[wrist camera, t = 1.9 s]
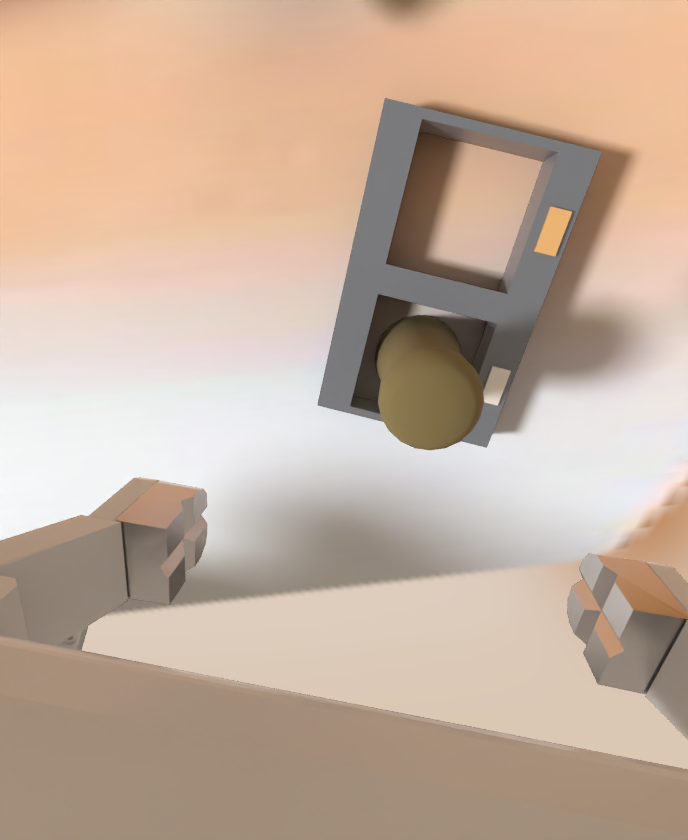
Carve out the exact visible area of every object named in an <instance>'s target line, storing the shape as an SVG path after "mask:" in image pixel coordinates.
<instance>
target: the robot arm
mask: <svg viewBox="0 0 688 840" xmlns="http://www.w3.org/2000/svg"><path fill="white" fill-rule="evenodd" d="M206 507H207V493H206V492H205V490H204V489H202V488H196V487H191V486H186V485H180V484H175V483H170V482H164V481H159V480H154V479H147V478H141V477H139V478H133V479H132V480H131V481H130V482H129V483H127V484H126V485H125V486H124V487H123V488H121V489H120V490H119V491H118V492H117V493H115V494H114V495H113V496H112V497H111V498H109V499H108V500H107V501H106V502H105V503H103V504H102V505H101V506H100V507H99V508H98V509H96V510H95V511H94V512H93V513H92V514H90V515H89V516H83V515H80V516H77V517H73V518H70V519H67V520H64V521H61V522H58V523H55V524H51V525H48V526H45V527H42V528H39V529H36V530H33V531H29V532H26V533H23V534H20V535H17V536H14V537H11V538H7V539H4V540H1V541H0V840H688V769H682V768H678V767H672V766H667V765H662V764H657V763H652V762H647V761H642V760H637V759H631V758H626V757H621V756H616V755H611V754H606V753H601V752H596V751H591V750H586V749H581V748H576V747H571V746H566V745H561V744H556V743H551V742H546V741H540V740H535V739H530V738H525V737H520V736H515V735H510V734H504V733H500V732H495V731H490V730H485V729H480V728H475V727H470V726H465V725H459V724H454V723H449V722H444V721H439V720H433V719H429V718H423V717H418V716H413V715H408V714H403V713H398V712H393V711H388V710H382V709H377V708H372V707H367V706H362V705H357V704H351V703H346V702H341V701H336V700H331V699H326V698H321V697H315V696H310V695H305V694H300V693H295V692H290V691H284V690H279V689H275V688H269V687H264V686H259V685H254V684H249V683H243V682H238V681H234V680H228V679H223V678H218V677H213V676H208V675H203V674H198V673H193V672H187V671H182V670H177V669H172V668H167V667H162V666H157V665H151V664H147V663H141V662H136V661H131V660H126V659H121V658H116V657H111V656H105V655H100V654H95V653H90V652H85V651H81V649H82V645H83V642H84V639H85V635H86V632H87V628H88V625H90V624H91V623H93V622H95V621H96V620H98V619H99V618H101V617H103V616H104V615H106V614H107V613H109V612H111V611H112V610H114V609H115V608H117V607H119V606H120V605H122V604H123V603H125V602H127V601H128V598H130V599H136V600H143V601H149V602H155V603H162V604H168V605H170V603H171V602H172V600H173V599H174V597H175V596H176V594H177V593H178V591H179V590H180V588H181V587H182V585H183V584H184V582H185V571H186V570H188V569H190V568H192V567H194V566H195V565H196V564H197V562H198V560H199V559H200V557H201V555H202V552H203V549H204V547H205V544H206V538H207V522H206V521H205V520H204V518H203V517H202V515H201V514H202V513H203V511H204V510H205V509H206ZM579 570H580V572H581V575H582V577H583V579H582V580H581V581H579V582H577V583H576V584H574V585H573V586H572V588H571V591H570V594H569V597H568V608H567V613H568V618H569V623H570V625H571V627H572V630H573V632H574V634H575V635H576V636H577V637H579V638H580V639H581V640H582V641H583V642H584V643H585V644H586V648H585V650H584V652H583V653H584V656H585V658H586V660H587V662H588V664H589V666H590V668H591V671H592V673H593V675H594V677H595V679H596V681H597V683H598V684H600V685H605V686H609V687H614V688H618V689H624V690H628V691H633V692H637V693H642V694H646V696H645V697H646V698H647V699H648V700H649V701H650V702H651V703H652V704H653V705H654V706H655V707H656V708H657V709H658V710H659V711H660V712H661V713H662V714H663V715H664V716H665V717H666V718H667V719H668V720H669V721H670V722H671V723H672V724H673V725H674V726H675V727H676V728H677V729H678V730H679V731H680V732H681V733H682V734H683V736H684V737H685V738H687V740H688V583H687V582H686V581H685V580H684V579H683V577H682V576H681V575H680V574H679V573H678V572H677V571H676V570H675V569H674V568H673V567H671V566H669V565H667V564H663V563H654V562H646V561H637V560H630V559H624V558H617V557H610V556H603V555H596V554H590V553H588V554H587V556H586V557H585V558H584V559H583V561H582V563H581V565H580V568H579Z"/></svg>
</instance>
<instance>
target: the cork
mask: <svg viewBox="0 0 688 840" xmlns="http://www.w3.org/2000/svg"><path fill="white" fill-rule="evenodd" d="M375 365H376V371H377V374H378V376H379V378H380V380H381V383H380V390H379V397H378V404H379V409H380V414H381V417H382V419H383V421H384V423H385V424H386V426H387V428H388V430H389V431H390V432H391V433H392V434H393V435H394V436H395V437H397V438H398V439H399V440H400V441H401V442H403V443H405V444H407V445H409V446H412V447H414V448H418V449H425V450H435V449H442V448H447V447H449V446H451V445H453V444H456V443H458V442H460V441H461V440H462V439H463V438H465V437H466V436H467V435H468V434H469V433H470V432H472V430H473V429H474V427H475V425H476V424H477V422H478V421H479V419H480V416H481V412H482V408H483V404H484V393H483V384H482V382H481V380H480V377H479V375H478V373H477V371H476V369H475V368H474V367H473V366H472V365H471V364H470V363H469V362H468V361H467V360H466V359H465V358H464V357H463V356H462V355H461V350H460V344H459V342H458V340H457V338H456V336H455V334H454V332H453V331H452V330H451V329H450V328H449V327H448V326H447V325H446V324H445V323H444V322H441V321H439V320H437V319H435V318H433V317H429V316H420V315H416V316H411V317H406V318H403V319H401V320H399V321H398V322H396V323H394V324H392V325H391V326H390V327H389V328H388V329H387V330H386V331H385V332H384V333H383V335H382V336H381V338H380V340H379V343H378V345H377V347H376V353H375Z"/></svg>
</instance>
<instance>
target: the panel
mask: <svg viewBox="0 0 688 840" xmlns="http://www.w3.org/2000/svg"><path fill="white" fill-rule="evenodd" d="M419 131H421V132H425V133H429V134H433V135H437V136H441V137H445V138H449V139H453V140H458V141H462V142H466V143H470V144H474V145H478V146H482V147H486V148H490V149H494V150H498V151H502V152H506V153H510V154H514V155H519V156H523V157H527V158H531V159H535V160H539V161H543V164H542V167H541V170H540V173H539V176H538V179H537V181H536V184H535V187H534V190H533V193H532V196H531V199H530V202H529V204H528V207H527V210H526V213H525V216H524V219H523V222H522V224H521V227H520V230H519V233H518V236H517V239H516V242H515V245H514V247H513V250H512V253H511V256H510V259H509V262H508V265H507V267H506V270H505V273H504V276H503V279H502V282H501V285H500V287H499V290H498V291H494V290H490V289H486V288H482V287H478V286H474V285H470V284H466V283H462V282H458V281H454V280H450V279H446V278H442V277H438V276H434V275H430V274H426V273H422V272H417V271H413V270H409V269H405V268H401V267H397V266H393V265H389V264H386V261H387V257H388V253H389V249H390V245H391V241H392V237H393V233H394V229H395V225H396V221H397V217H398V213H399V209H400V205H401V201H402V197H403V193H404V189H405V185H406V181H407V177H408V173H409V169H410V165H411V161H412V157H413V153H414V149H415V145H416V141H417V137H418V133H419ZM601 153H602V151H599V150H594V149H590V148H586V147H582V146H578V145H574V144H570V143H566V142H562V141H558V140H554V139H550V138H546V137H542V136H537V135H533V134H529V133H525V132H521V131H517V130H513V129H509V128H505V127H501V126H497V125H493V124H489V123H485V122H480V121H476V120H472V119H468V118H464V117H460V116H456V115H452V114H448V113H444V112H440V111H436V110H432V109H428V108H423V107H419V106H415V105H411V104H407V103H403V102H399V101H395V100H391V99H387V98H385V101H384V105H383V110H382V114H381V119H380V123H379V128H378V132H377V137H376V142H375V146H374V151H373V155H372V160H371V164H370V169H369V173H368V178H367V182H366V187H365V191H364V196H363V201H362V205H361V210H360V214H359V219H358V223H357V228H356V232H355V237H354V241H353V246H352V251H351V255H350V260H349V264H348V269H347V273H346V278H345V282H344V287H343V291H342V296H341V300H340V305H339V310H338V314H337V319H336V323H335V328H334V332H333V337H332V341H331V346H330V350H329V355H328V359H327V364H326V369H325V373H324V378H323V382H322V387H321V391H320V396H319V400H318V405H319V406H323V407H327V408H331V409H335V410H339V411H343V412H347V413H351V414H355V415H359V416H363V417H367V418H371V419H375V420H379V421H383V419H382V417H381V414H380V409H379V404H378V402H375V401H371V400H367V399H363V398H359V397H355V396H353V393H354V389H355V385H356V381H357V377H358V373H359V369H360V365H361V361H362V357H363V353H364V349H365V345H366V341H367V337H368V333H369V329H370V325H371V321H372V317H373V313H374V309H375V305H376V301H377V297H378V294H380V295H384V296H388V297H392V298H396V299H400V300H404V301H408V302H412V303H416V304H420V305H424V306H428V307H432V308H437V309H441V310H445V311H449V312H453V313H457V314H461V315H465V316H469V317H473V318H477V319H481V320H485V321H488V322H487V325H486V328H485V330H484V333H483V336H482V339H481V342H480V345H479V348H478V351H477V353H476V356H475V359H474V362H473V365H472V366H473V367H474V368H475V369H476V371H477V373H478V375H479V377H480V380H481V382H482V384H483V393H484V404H483V408H482V412H481V416H480V419H479V421H478V422H477V424H476V425H475V427H474V429H473V430H472V432H470V433H469V434H468V435H467V436H466V437H465V438H463V439H462V440H461V441H462V442H466V443H470V444H474V445H478V446H482V447H486V448H487V446H488V443H489V440H490V438H491V435H492V433H493V430H494V428H495V425H496V423H497V420H498V417H499V415H500V412H501V410H502V407H503V405H504V402H505V399H506V397H507V394H508V392H509V389H510V387H511V384H512V382H513V379H514V376H515V374H516V371H517V369H518V366H519V364H520V361H521V358H522V356H523V353H524V351H525V348H526V346H527V343H528V340H529V338H530V335H531V333H532V330H533V328H534V325H535V323H536V320H537V317H538V315H539V312H540V310H541V307H542V305H543V302H544V299H545V297H546V294H547V292H548V289H549V287H550V284H551V281H552V279H553V276H554V274H555V271H556V269H557V266H558V264H559V261H560V258H561V256H562V253H563V251H564V248H565V246H566V243H567V240H568V238H569V235H570V233H571V230H572V228H573V225H574V223H575V220H576V217H577V215H578V212H579V210H580V207H581V205H582V202H583V199H584V197H585V194H586V192H587V189H588V187H589V184H590V181H591V179H592V176H593V174H594V171H595V169H596V166H597V164H598V161H599V158H600V156H601ZM383 422H384V421H383Z"/></svg>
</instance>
